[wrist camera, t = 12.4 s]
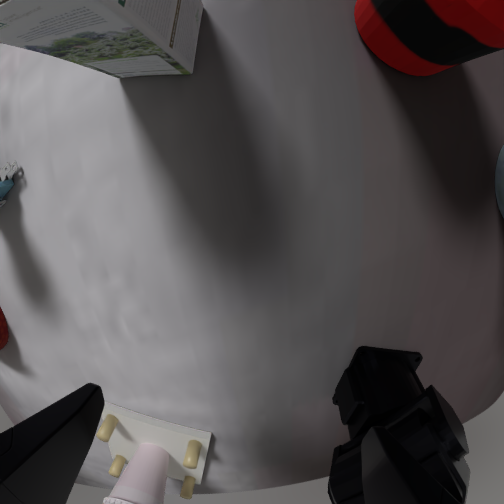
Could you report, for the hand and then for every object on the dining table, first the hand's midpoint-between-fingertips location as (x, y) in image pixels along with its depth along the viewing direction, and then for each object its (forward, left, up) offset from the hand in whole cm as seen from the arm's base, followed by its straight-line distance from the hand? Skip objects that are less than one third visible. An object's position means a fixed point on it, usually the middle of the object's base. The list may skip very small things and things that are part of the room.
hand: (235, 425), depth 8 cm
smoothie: (+7, +24, -12) cm, 28 cm away
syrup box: (+10, -14, -13) cm, 22 cm away
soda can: (-6, -19, -13) cm, 24 cm away
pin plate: (+7, +25, -13) cm, 29 cm away
